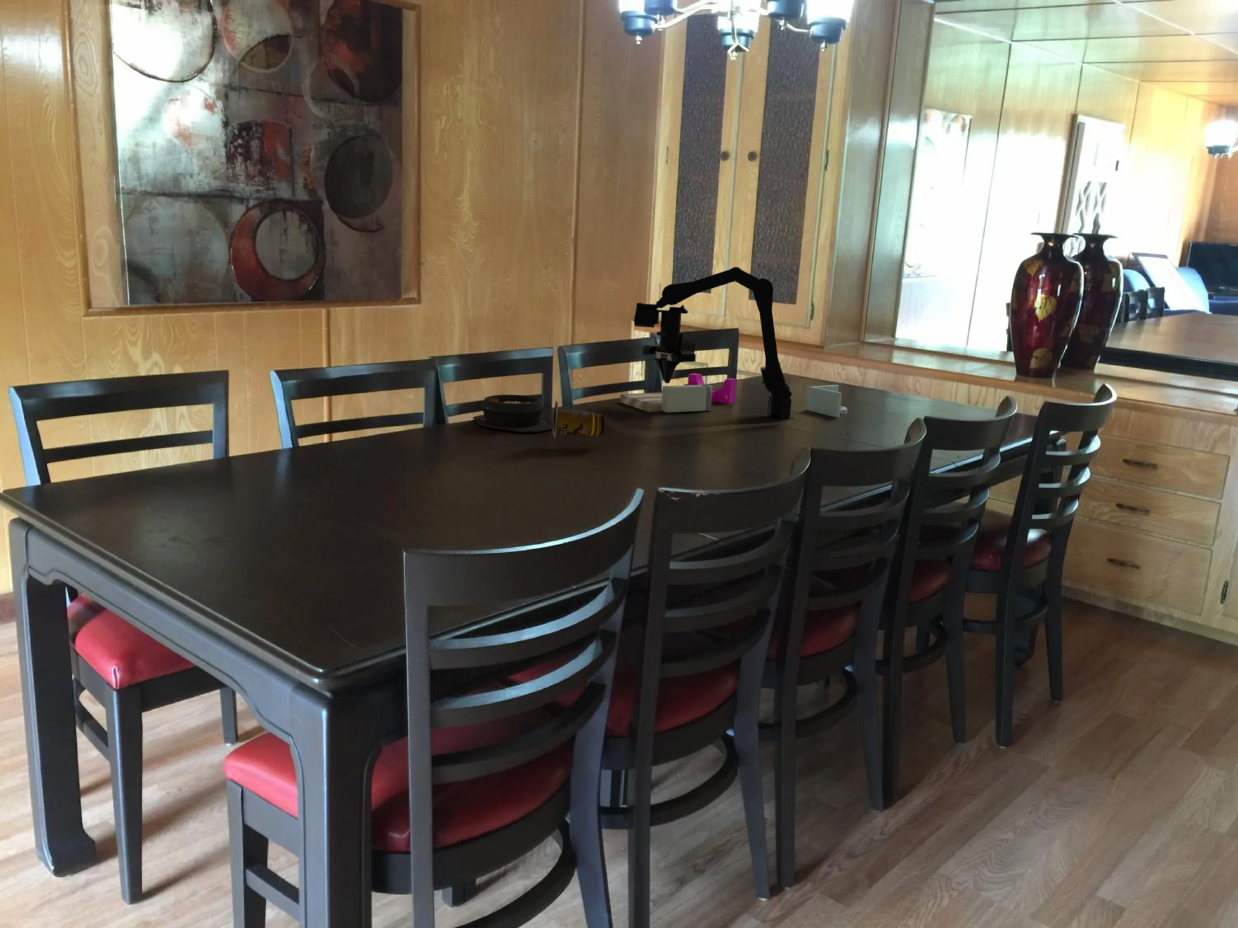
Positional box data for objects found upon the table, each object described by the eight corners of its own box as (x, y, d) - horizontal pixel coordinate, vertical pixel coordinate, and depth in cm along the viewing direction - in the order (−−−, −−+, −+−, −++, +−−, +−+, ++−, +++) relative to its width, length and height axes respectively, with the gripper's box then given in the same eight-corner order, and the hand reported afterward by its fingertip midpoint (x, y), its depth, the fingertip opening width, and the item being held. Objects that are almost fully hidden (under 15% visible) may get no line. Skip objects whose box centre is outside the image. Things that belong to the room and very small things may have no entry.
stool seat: (706, 409, 284) (707, 400, 284) (648, 411, 274) (648, 403, 274) (676, 400, 298) (677, 392, 297) (620, 402, 288) (620, 394, 287)
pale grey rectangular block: (706, 408, 284) (708, 384, 282) (712, 410, 281) (714, 386, 279) (660, 410, 276) (662, 386, 274) (667, 412, 273) (668, 387, 272)
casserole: (456, 425, 261) (456, 394, 259) (511, 419, 274) (512, 389, 272) (512, 442, 244) (513, 409, 242) (569, 434, 256) (570, 403, 254)
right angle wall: (837, 418, 283) (839, 393, 281) (806, 411, 292) (809, 386, 290) (864, 415, 290) (867, 391, 288) (833, 409, 299) (836, 384, 297)
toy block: (682, 398, 302) (684, 375, 301) (692, 396, 307) (694, 373, 306) (725, 405, 294) (726, 380, 292) (734, 403, 299) (736, 379, 298)
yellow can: (554, 438, 231) (604, 441, 234) (557, 403, 230) (607, 406, 232) (551, 432, 238) (599, 435, 241) (554, 398, 237) (602, 401, 239)
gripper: (712, 332, 273) (709, 387, 276) (674, 325, 288) (671, 377, 292) (680, 332, 267) (677, 388, 270) (643, 325, 282) (640, 378, 286)
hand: (667, 383), depth 280 cm, fingers closed
